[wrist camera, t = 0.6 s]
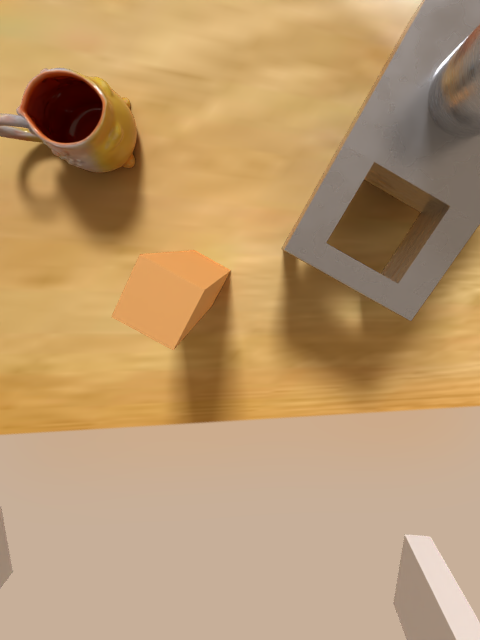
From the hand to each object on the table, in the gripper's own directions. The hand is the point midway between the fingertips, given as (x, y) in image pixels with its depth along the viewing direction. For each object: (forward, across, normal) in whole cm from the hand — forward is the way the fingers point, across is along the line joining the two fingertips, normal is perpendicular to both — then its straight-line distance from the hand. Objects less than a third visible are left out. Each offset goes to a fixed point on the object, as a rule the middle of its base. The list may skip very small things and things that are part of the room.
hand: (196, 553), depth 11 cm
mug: (+24, -15, +19) cm, 34 cm away
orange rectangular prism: (+23, -4, +6) cm, 24 cm away
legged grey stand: (+23, +12, +15) cm, 30 cm away
